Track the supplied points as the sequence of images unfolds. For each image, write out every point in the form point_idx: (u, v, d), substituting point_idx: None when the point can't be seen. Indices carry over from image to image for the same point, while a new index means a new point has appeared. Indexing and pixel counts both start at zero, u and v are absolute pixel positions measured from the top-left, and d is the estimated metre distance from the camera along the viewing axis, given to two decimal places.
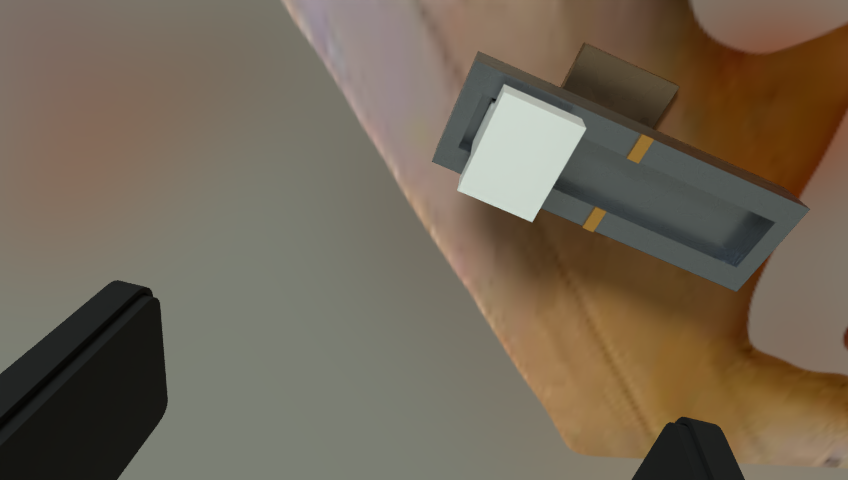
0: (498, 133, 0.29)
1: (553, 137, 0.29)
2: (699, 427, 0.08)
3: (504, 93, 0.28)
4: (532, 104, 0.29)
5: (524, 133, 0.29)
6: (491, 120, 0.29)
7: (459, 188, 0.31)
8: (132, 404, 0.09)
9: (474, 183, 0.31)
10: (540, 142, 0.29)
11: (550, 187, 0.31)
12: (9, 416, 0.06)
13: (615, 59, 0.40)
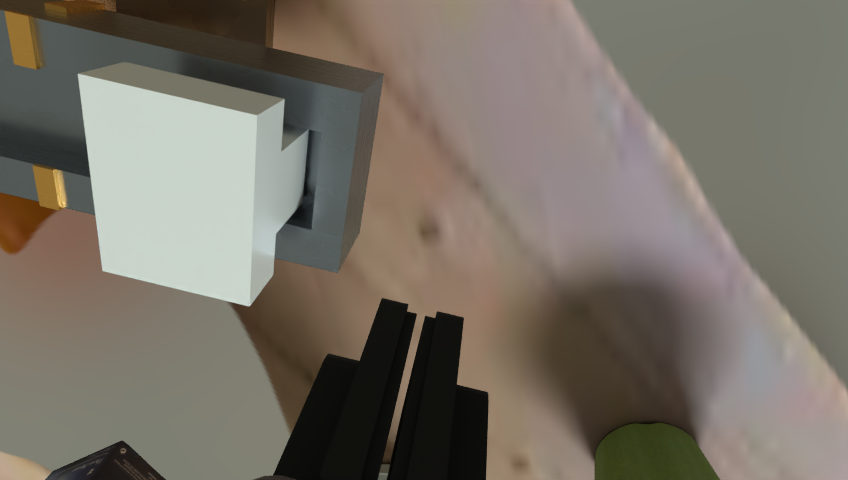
0: (228, 242, 0.16)
1: (140, 250, 0.16)
2: (442, 317, 0.10)
3: (248, 304, 0.17)
4: None
5: (186, 249, 0.16)
6: (249, 262, 0.16)
7: (254, 120, 0.14)
8: None
9: (228, 138, 0.14)
10: (155, 239, 0.16)
11: (91, 161, 0.15)
12: (377, 422, 0.07)
13: None
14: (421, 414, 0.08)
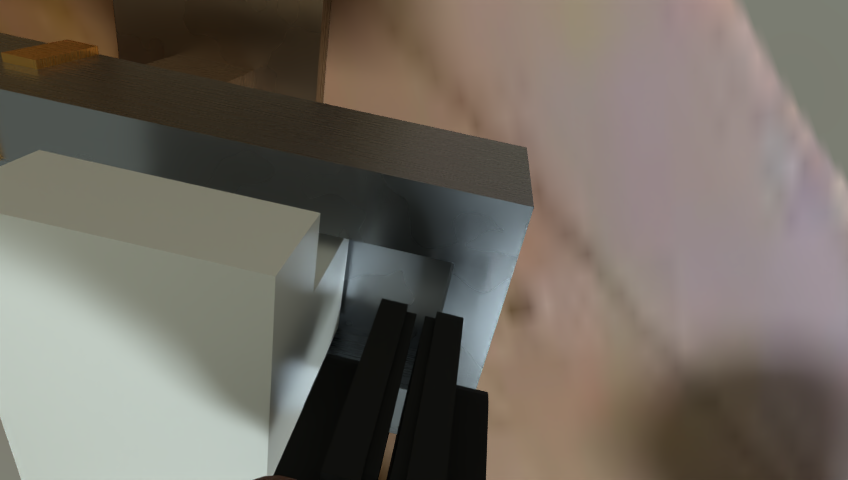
0: (225, 460, 0.09)
1: (79, 461, 0.10)
2: (442, 317, 0.10)
3: None
4: None
5: (155, 465, 0.09)
6: None
7: (270, 284, 0.07)
8: None
9: (222, 311, 0.07)
10: (102, 449, 0.09)
11: None
12: (377, 422, 0.07)
13: None
14: (421, 414, 0.08)
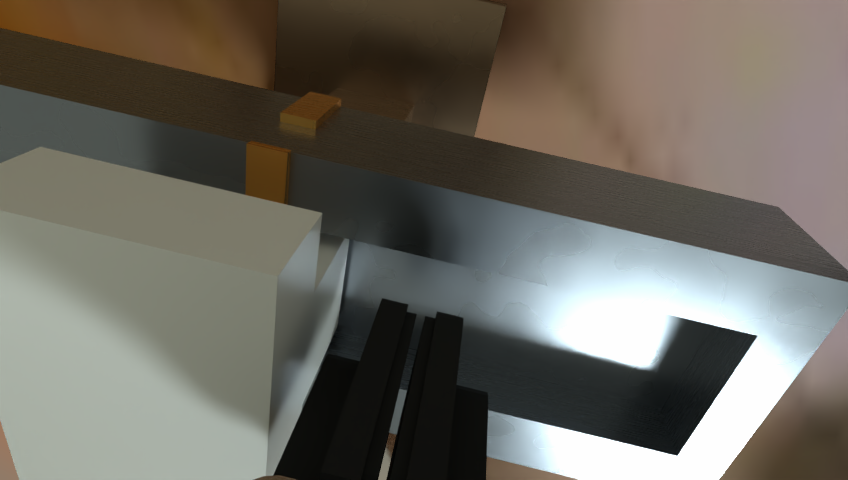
0: (224, 459, 0.09)
1: (77, 458, 0.10)
2: (442, 317, 0.10)
3: None
4: None
5: (154, 463, 0.09)
6: None
7: (272, 284, 0.07)
8: None
9: (223, 309, 0.07)
10: (101, 446, 0.09)
11: None
12: (377, 422, 0.07)
13: None
14: (421, 414, 0.08)
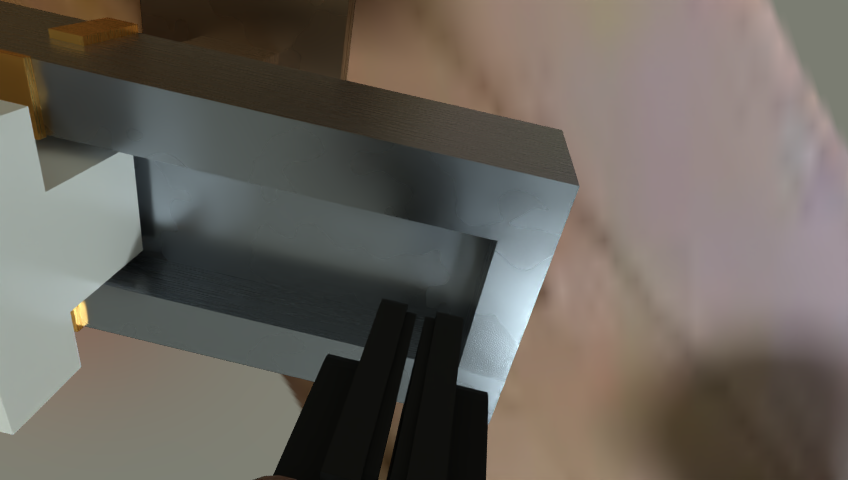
0: None
1: None
2: (442, 317, 0.10)
3: (10, 431, 0.11)
4: None
5: None
6: None
7: None
8: None
9: None
10: None
11: None
12: (377, 422, 0.07)
13: None
14: (421, 414, 0.08)
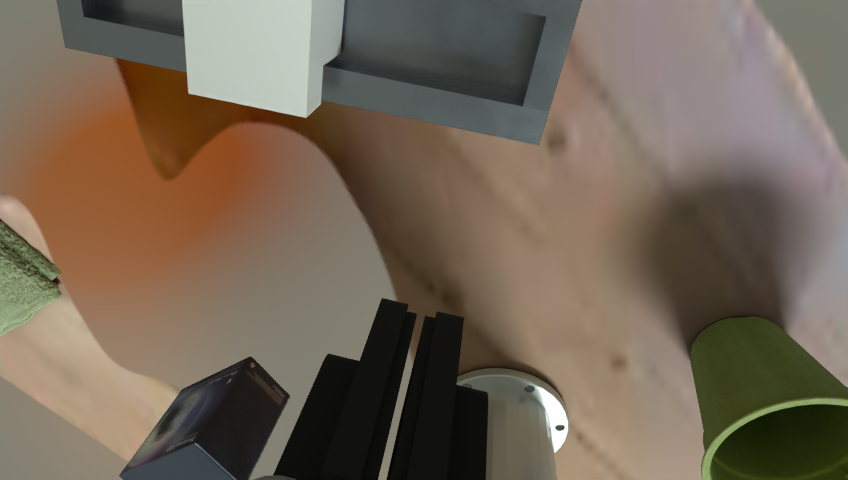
0: (290, 58, 0.20)
1: (219, 71, 0.21)
2: (442, 317, 0.10)
3: (304, 115, 0.21)
4: None
5: (256, 67, 0.21)
6: (306, 75, 0.20)
7: None
8: None
9: None
10: (232, 60, 0.21)
11: None
12: (377, 422, 0.07)
13: None
14: (421, 414, 0.08)
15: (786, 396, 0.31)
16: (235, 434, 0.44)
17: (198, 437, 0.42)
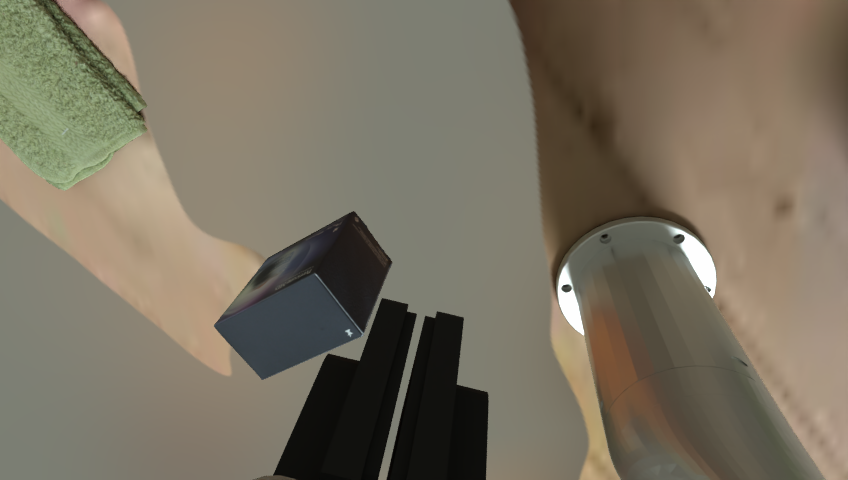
0: None
1: None
2: (442, 317, 0.10)
3: None
4: None
5: None
6: None
7: None
8: None
9: None
10: None
11: None
12: (378, 422, 0.07)
13: None
14: (421, 414, 0.08)
15: None
16: (350, 278, 0.39)
17: (317, 268, 0.36)
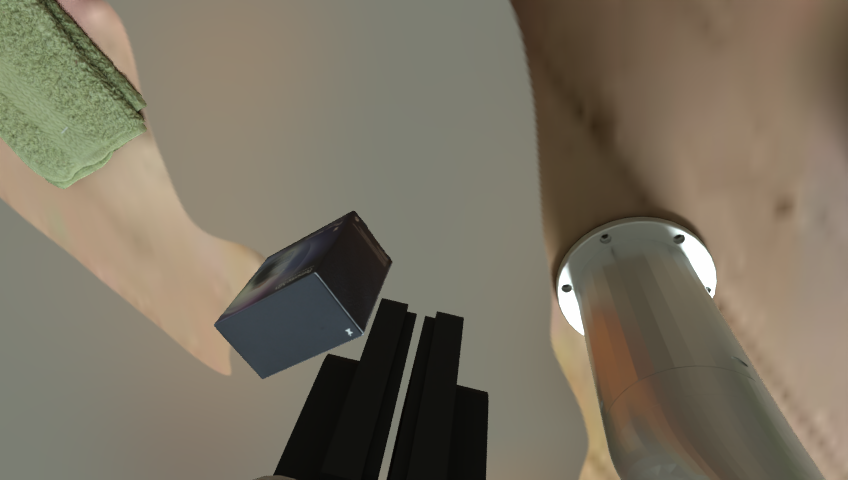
0: None
1: None
2: (442, 317, 0.10)
3: None
4: None
5: None
6: None
7: None
8: None
9: None
10: None
11: None
12: (377, 422, 0.07)
13: None
14: (421, 414, 0.08)
15: None
16: (350, 278, 0.39)
17: (317, 267, 0.36)
